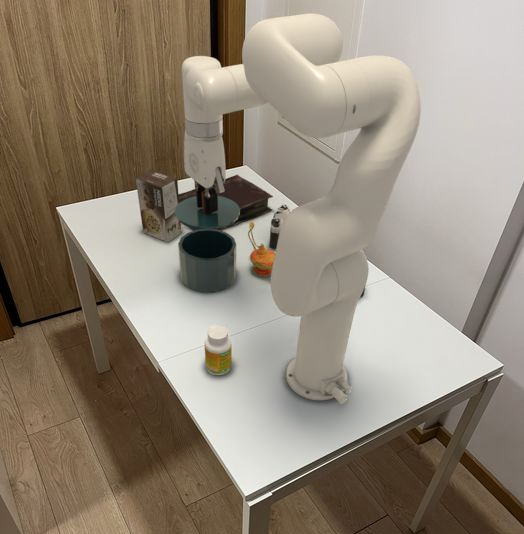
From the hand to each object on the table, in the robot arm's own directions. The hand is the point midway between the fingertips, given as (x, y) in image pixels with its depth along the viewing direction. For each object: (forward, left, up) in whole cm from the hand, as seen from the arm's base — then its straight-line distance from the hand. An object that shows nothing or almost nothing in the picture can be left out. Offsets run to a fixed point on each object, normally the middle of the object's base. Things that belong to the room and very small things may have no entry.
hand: (207, 208), depth 120 cm
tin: (+1, 0, -19) cm, 19 cm away
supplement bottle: (-27, +15, -19) cm, 37 cm away
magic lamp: (-6, -13, -19) cm, 24 cm away
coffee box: (+25, 0, -19) cm, 31 cm away
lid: (0, 0, -1) cm, 1 cm away
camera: (+4, -27, -19) cm, 33 cm away
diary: (+26, -20, -19) cm, 38 cm away
